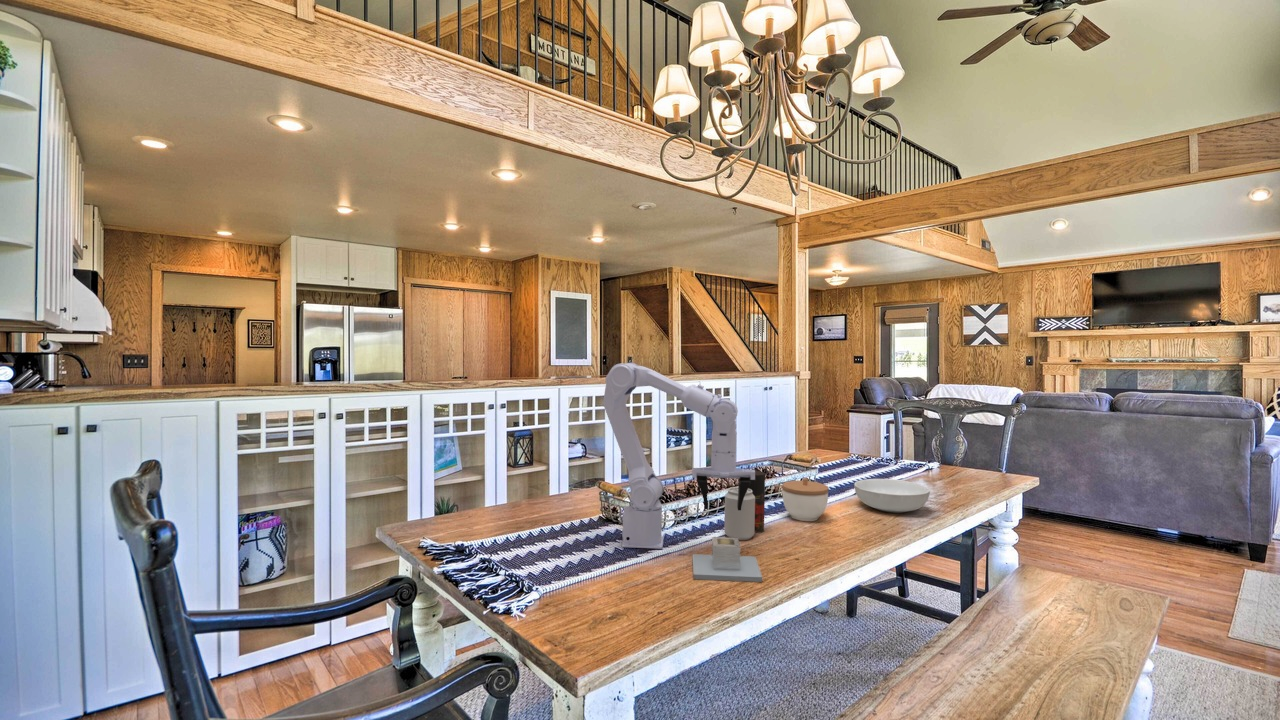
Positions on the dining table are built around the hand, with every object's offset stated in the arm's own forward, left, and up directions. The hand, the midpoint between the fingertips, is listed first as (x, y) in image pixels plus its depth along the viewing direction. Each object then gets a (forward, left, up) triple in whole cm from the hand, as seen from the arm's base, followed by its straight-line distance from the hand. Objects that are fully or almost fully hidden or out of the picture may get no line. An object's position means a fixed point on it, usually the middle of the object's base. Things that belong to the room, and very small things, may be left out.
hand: (722, 508), depth 140 cm
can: (+5, +11, -10) cm, 16 cm away
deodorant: (+9, +17, -10) cm, 22 cm away
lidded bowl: (+25, +30, -10) cm, 40 cm away
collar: (0, -12, -9) cm, 15 cm away
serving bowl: (+53, +43, -10) cm, 69 cm away
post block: (0, -12, -10) cm, 16 cm away
